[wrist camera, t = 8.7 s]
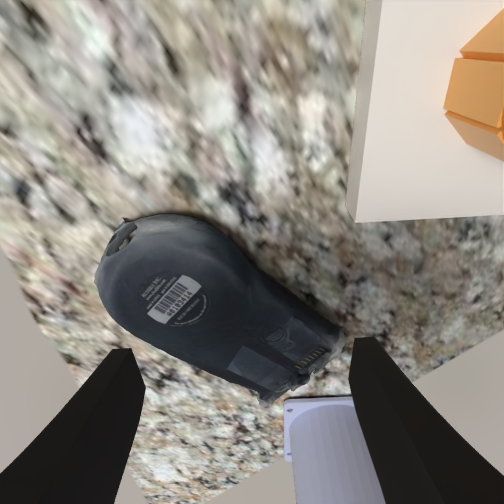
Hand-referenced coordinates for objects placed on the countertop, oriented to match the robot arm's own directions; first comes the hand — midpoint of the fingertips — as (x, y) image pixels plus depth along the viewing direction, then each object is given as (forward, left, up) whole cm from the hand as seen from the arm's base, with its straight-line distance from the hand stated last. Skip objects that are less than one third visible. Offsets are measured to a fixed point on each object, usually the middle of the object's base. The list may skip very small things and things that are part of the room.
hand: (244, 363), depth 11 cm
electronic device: (-5, +2, -10) cm, 12 cm away
